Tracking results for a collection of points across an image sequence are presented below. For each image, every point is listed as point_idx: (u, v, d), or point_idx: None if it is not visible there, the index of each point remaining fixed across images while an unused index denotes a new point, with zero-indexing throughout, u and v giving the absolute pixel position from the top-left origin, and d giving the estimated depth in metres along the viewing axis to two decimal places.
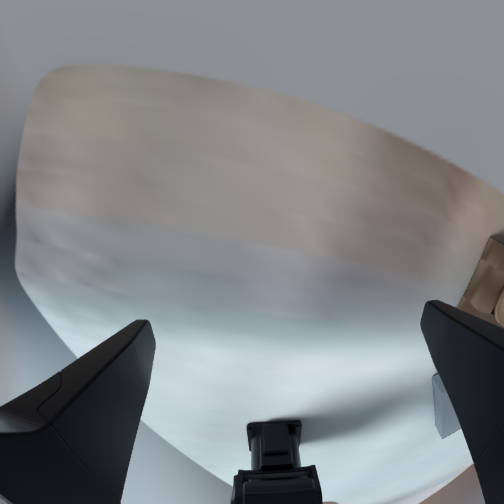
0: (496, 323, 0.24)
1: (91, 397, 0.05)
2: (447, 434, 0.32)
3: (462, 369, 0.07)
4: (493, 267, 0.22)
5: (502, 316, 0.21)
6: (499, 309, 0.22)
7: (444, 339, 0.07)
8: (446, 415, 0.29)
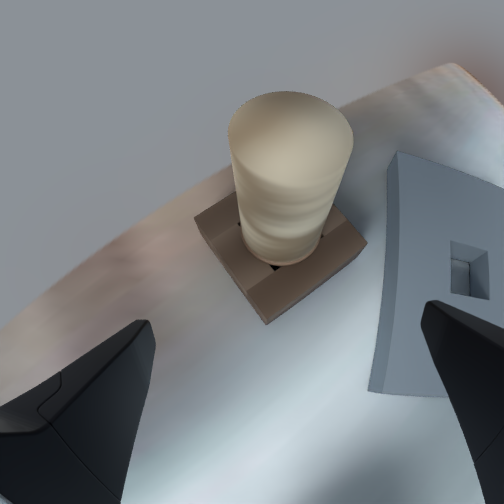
0: (308, 263, 0.21)
1: (91, 397, 0.05)
2: None
3: (462, 369, 0.07)
4: (212, 245, 0.22)
5: (268, 254, 0.19)
6: (261, 256, 0.20)
7: (444, 339, 0.07)
8: None
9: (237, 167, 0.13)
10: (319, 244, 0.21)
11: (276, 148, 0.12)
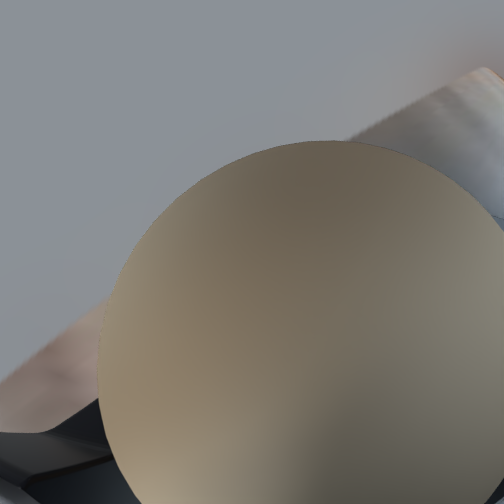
0: None
1: None
2: None
3: None
4: None
5: None
6: None
7: None
8: None
9: None
10: None
11: (304, 480, 0.02)
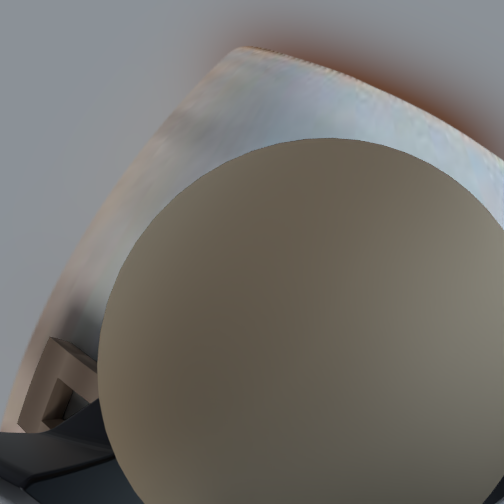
0: None
1: None
2: None
3: None
4: None
5: None
6: None
7: None
8: None
9: None
10: None
11: (303, 476, 0.02)
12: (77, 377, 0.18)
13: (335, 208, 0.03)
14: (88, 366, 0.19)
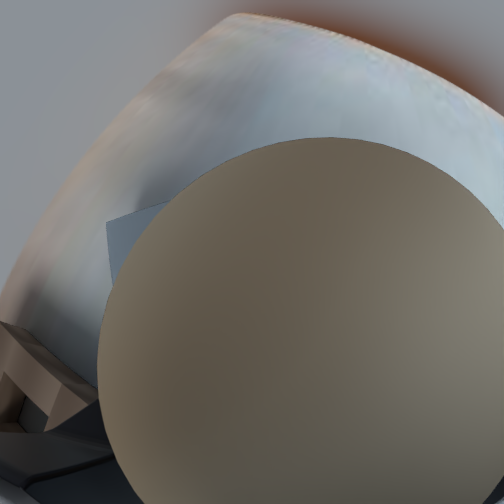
0: None
1: None
2: None
3: None
4: None
5: None
6: None
7: None
8: None
9: None
10: (48, 429, 0.11)
11: (303, 476, 0.02)
12: (23, 371, 0.12)
13: (335, 207, 0.03)
14: (36, 358, 0.13)
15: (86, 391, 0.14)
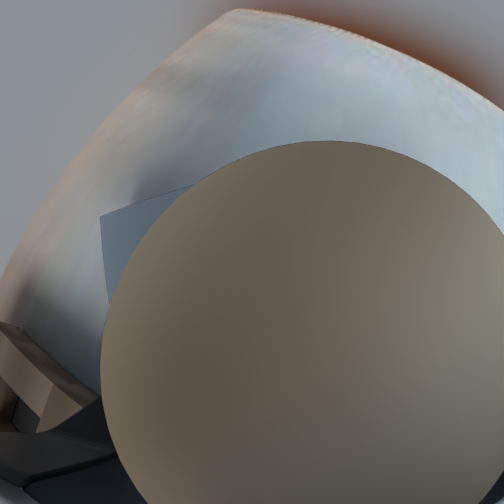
0: None
1: None
2: None
3: None
4: None
5: None
6: None
7: None
8: None
9: None
10: (40, 431, 0.11)
11: (303, 474, 0.02)
12: (15, 371, 0.12)
13: (334, 210, 0.03)
14: (28, 357, 0.12)
15: (79, 392, 0.13)
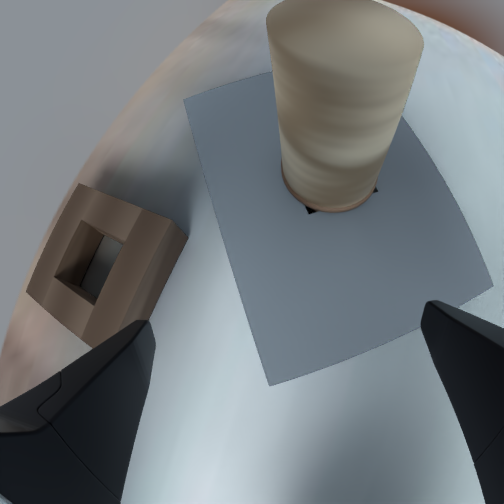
0: (119, 280, 0.17)
1: (91, 397, 0.05)
2: (480, 276, 0.14)
3: (462, 369, 0.07)
4: None
5: (320, 196, 0.15)
6: (311, 200, 0.16)
7: (444, 339, 0.08)
8: (386, 329, 0.14)
9: (283, 62, 0.08)
10: (123, 253, 0.17)
11: (333, 35, 0.07)
12: (103, 212, 0.18)
13: (331, 2, 0.08)
14: None
15: None
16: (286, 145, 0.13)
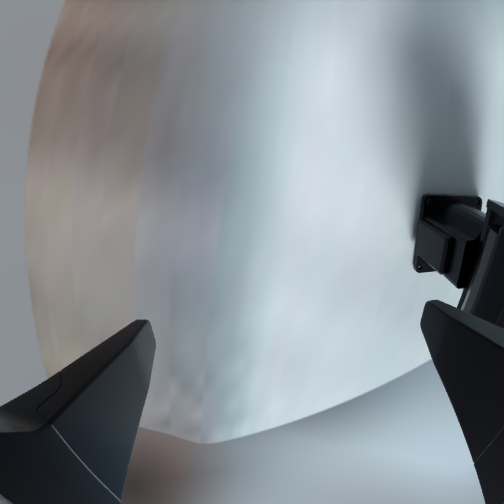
0: None
1: (91, 397, 0.05)
2: None
3: (462, 369, 0.07)
4: None
5: None
6: None
7: (444, 339, 0.08)
8: None
9: None
10: None
11: None
12: None
13: None
14: None
15: None
16: None
